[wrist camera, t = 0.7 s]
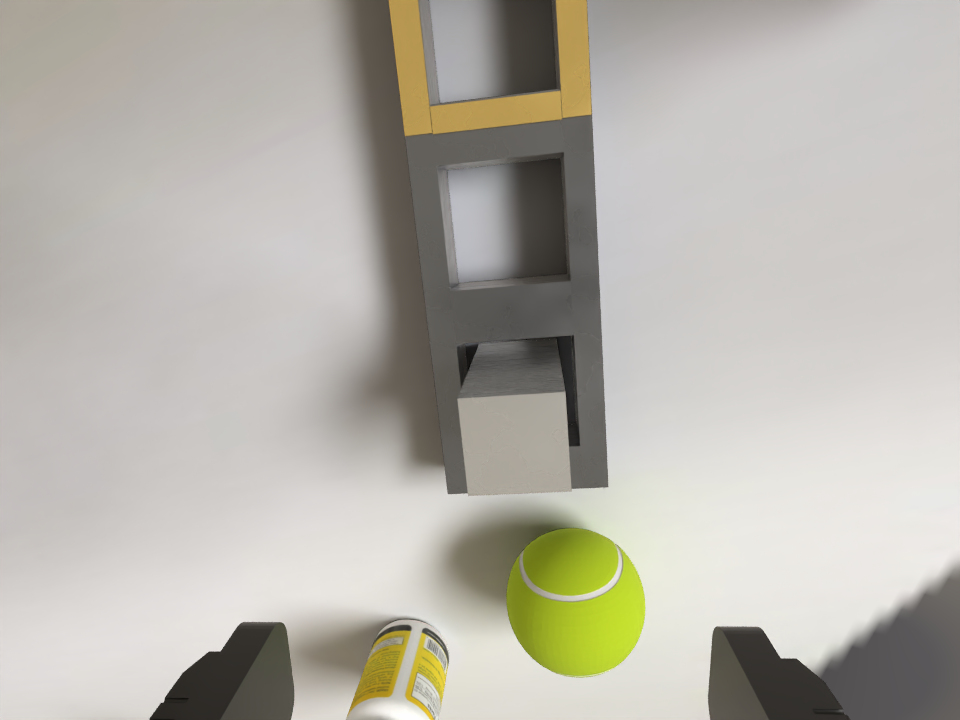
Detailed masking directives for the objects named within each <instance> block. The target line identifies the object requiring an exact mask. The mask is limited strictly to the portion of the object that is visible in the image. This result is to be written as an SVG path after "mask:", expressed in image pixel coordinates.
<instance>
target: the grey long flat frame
mask: <svg viewBox="0 0 960 720" xmlns="http://www.w3.org/2000/svg"><path fill="white" fill-rule="evenodd" d="M389 8H390V17H391V25H392V33H393V42H394V50H395V58H396V67H397V75H398V83H399V92H400V100H401V108H402V116H403V125H404V133H405V141H406V150H407V158H408V166H409V175H410V183H411V191H412V200H413V208H414V216H415V224H416V233H417V241H418V249H419V258H420V266H421V274H422V283H423V291H424V299H425V308H426V316H427V324H428V332H429V341H430V349H431V357H432V366H433V374H434V382H435V391H436V399H437V407H438V415H439V424H440V432H441V440H442V449H443V457H444V465H445V474H446V482H447V490H448V494H461V493H468V490H467V481H466V472H465V463H464V454H463V445H462V436H461V427H460V418H459V409H458V400H457V398H458V396H459V393H460V391H461V388H462V386H463V383H464V381H465V378H466V376H467V373H468V367H467V358H466V348H465V343H476V342H489V341H503V340H516V339H530V338H544V337H557V336H571V348H572V365H573V382H574V400H575V417H576V424H567V425H568V441H569V457H570V474H571V489H576V488H599V487H608V469H607V446H606V424H605V401H604V378H603V355H602V332H601V309H600V287H599V264H598V241H597V218H596V195H595V173H594V150H593V127H592V104H591V81H590V58H589V36H588V13H587V0H552V17H553V34H554V52H555V69H556V87H557V89H554V90H545V91H537V92H529V93H521V94H512V95H504V96H496V97H488V98H479V99H471V100H463V101H455V102H447V103H440V100H439V90H438V81H437V71H436V62H435V52H434V43H433V33H432V23H431V14H430V4H429V0H389ZM556 158H561V174H562V191H563V208H564V226H565V243H566V261H567V274H558V275H546V276H534V277H522V278H511V279H499V280H487V281H476V282H464V283H459V281H458V272H457V262H456V253H455V243H454V233H453V224H452V214H451V205H450V195H449V186H448V176H447V170H454V169H464V168H473V167H482V166H491V165H501V164H510V163H519V162H529V161H538V160H547V159H556Z"/></svg>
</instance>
